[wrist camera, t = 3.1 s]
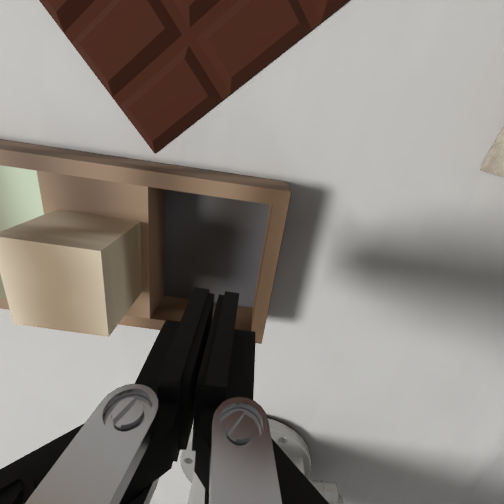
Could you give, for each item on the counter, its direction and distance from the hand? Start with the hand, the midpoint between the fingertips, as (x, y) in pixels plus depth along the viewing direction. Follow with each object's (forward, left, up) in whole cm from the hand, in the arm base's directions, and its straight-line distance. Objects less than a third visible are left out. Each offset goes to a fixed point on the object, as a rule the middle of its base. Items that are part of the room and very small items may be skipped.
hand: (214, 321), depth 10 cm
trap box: (+10, +1, -9) cm, 14 cm away
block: (+7, +1, -6) cm, 9 cm away
